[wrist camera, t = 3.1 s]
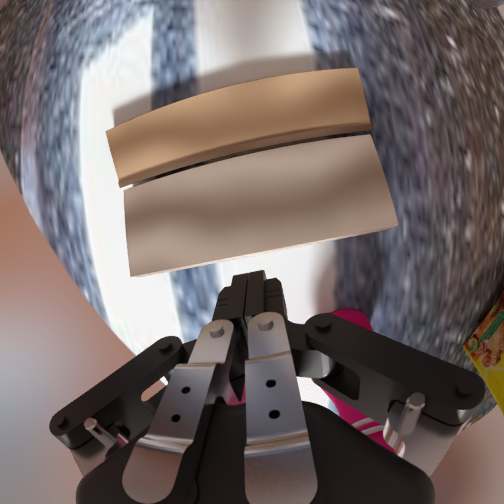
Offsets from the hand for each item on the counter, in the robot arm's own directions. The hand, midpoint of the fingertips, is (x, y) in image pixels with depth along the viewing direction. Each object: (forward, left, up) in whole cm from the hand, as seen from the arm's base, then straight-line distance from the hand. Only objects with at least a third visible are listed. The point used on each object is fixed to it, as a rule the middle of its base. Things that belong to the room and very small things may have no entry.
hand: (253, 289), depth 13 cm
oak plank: (-9, 0, -10) cm, 13 cm away
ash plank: (-2, 0, -8) cm, 8 cm away
